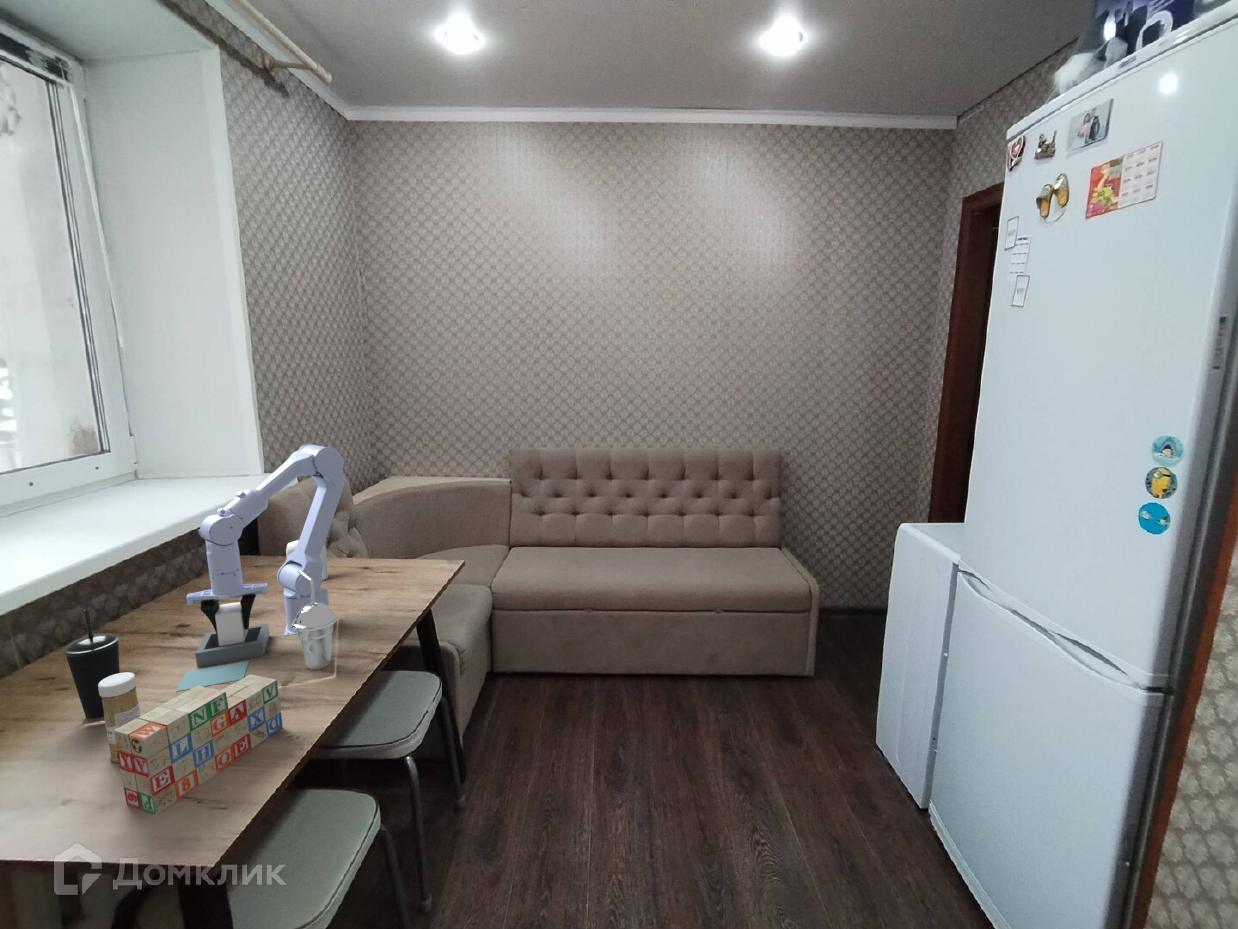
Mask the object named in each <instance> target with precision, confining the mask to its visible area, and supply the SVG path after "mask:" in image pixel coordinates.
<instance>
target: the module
mask: <svg viewBox="0 0 1238 929" xmlns="http://www.w3.org/2000/svg"><path fill="white" fill-rule="evenodd" d="M215 619H216V626H217V633H218V641H219V646H224V645H230V644H236V643H242V642H244V641H245V638H246V635H247V633H248V629H245V630H244V625H243V613H242V608H241V604H240V601H237V602H229V603H223V604H222V603H221V604H219V609H218V611H217V613H216V615H215Z"/></svg>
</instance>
